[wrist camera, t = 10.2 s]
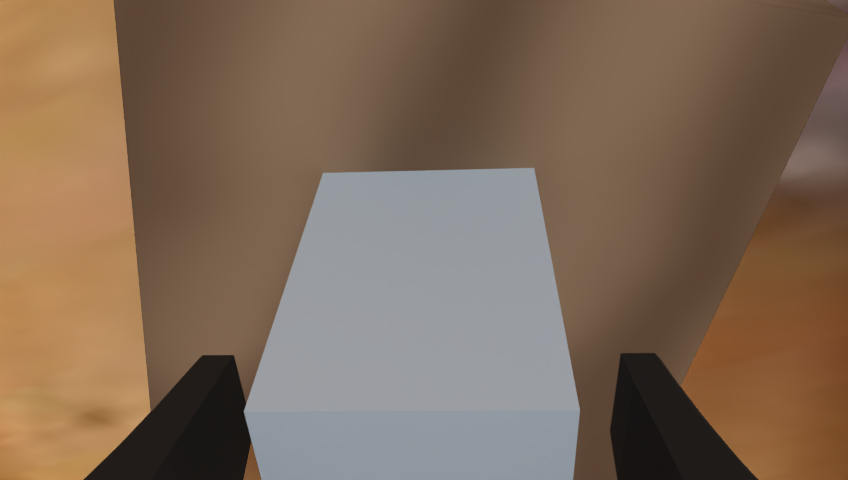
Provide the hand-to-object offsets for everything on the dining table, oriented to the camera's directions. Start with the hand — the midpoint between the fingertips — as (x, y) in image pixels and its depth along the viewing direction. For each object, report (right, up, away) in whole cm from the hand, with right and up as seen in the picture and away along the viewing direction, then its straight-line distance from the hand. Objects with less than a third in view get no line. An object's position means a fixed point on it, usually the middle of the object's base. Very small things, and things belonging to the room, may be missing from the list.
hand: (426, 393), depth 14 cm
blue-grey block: (0, +3, +3) cm, 4 cm away
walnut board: (0, +3, +5) cm, 6 cm away
